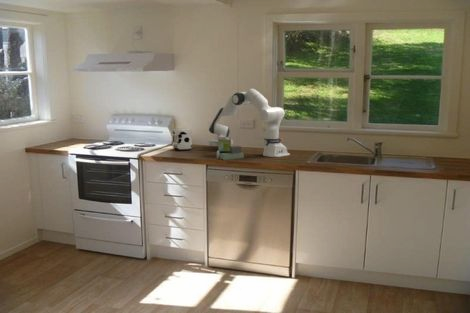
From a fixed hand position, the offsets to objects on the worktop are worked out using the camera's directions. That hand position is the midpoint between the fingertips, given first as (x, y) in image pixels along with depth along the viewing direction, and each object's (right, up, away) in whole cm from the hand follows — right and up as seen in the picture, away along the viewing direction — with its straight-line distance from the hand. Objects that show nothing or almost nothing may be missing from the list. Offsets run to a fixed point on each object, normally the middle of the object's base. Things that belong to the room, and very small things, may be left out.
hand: (221, 143), depth 386 cm
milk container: (-34, -5, +12) cm, 37 cm away
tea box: (+3, -10, -17) cm, 20 cm away
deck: (+8, -12, -27) cm, 31 cm away
